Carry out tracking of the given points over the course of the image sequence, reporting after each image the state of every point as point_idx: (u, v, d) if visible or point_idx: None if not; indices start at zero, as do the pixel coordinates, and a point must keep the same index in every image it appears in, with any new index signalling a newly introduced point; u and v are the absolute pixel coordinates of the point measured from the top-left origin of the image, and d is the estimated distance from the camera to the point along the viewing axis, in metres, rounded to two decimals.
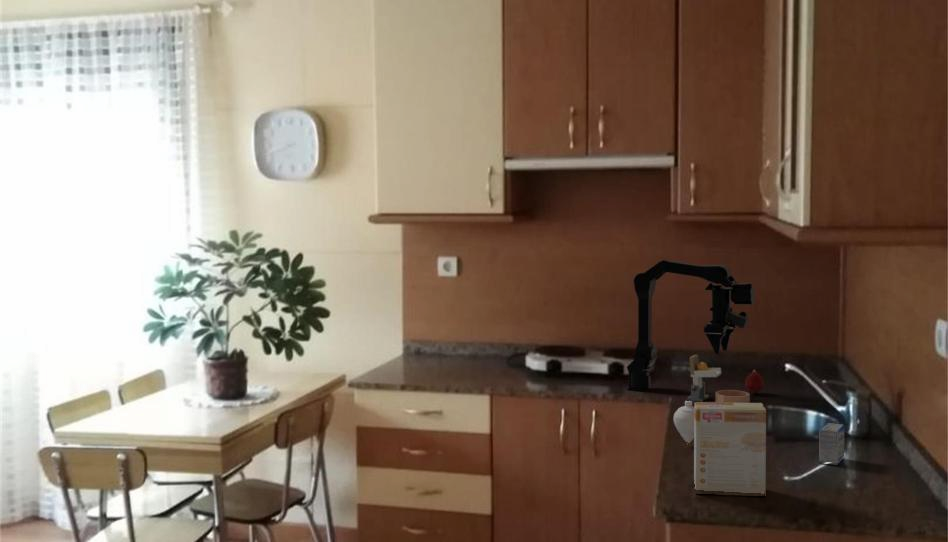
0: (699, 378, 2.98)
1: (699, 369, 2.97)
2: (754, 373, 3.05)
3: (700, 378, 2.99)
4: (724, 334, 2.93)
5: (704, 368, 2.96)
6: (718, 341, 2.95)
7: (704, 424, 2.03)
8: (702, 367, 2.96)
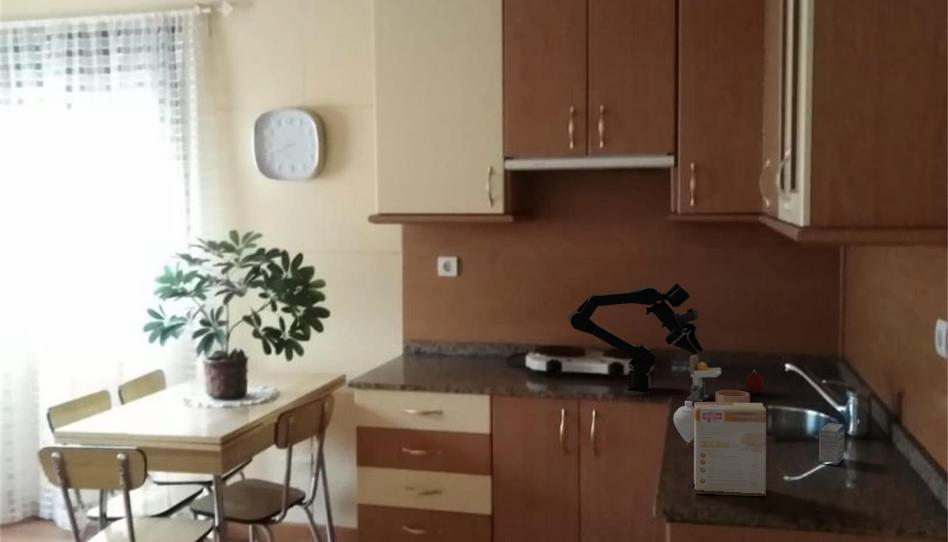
0: (699, 378, 2.98)
1: (699, 369, 2.97)
2: (754, 373, 3.05)
3: (700, 378, 2.99)
4: (686, 333, 3.05)
5: (704, 368, 2.96)
6: (688, 342, 3.05)
7: (704, 424, 2.03)
8: (702, 367, 2.96)
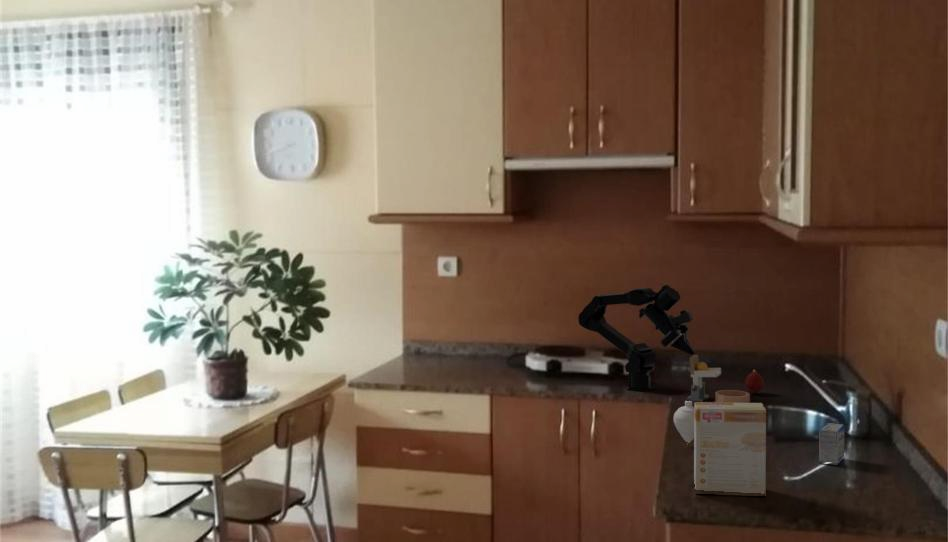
0: (699, 378, 2.98)
1: (699, 369, 2.97)
2: (754, 373, 3.05)
3: (700, 378, 2.99)
4: (684, 334, 3.03)
5: (704, 368, 2.96)
6: (685, 343, 3.04)
7: (704, 424, 2.03)
8: (702, 367, 2.96)
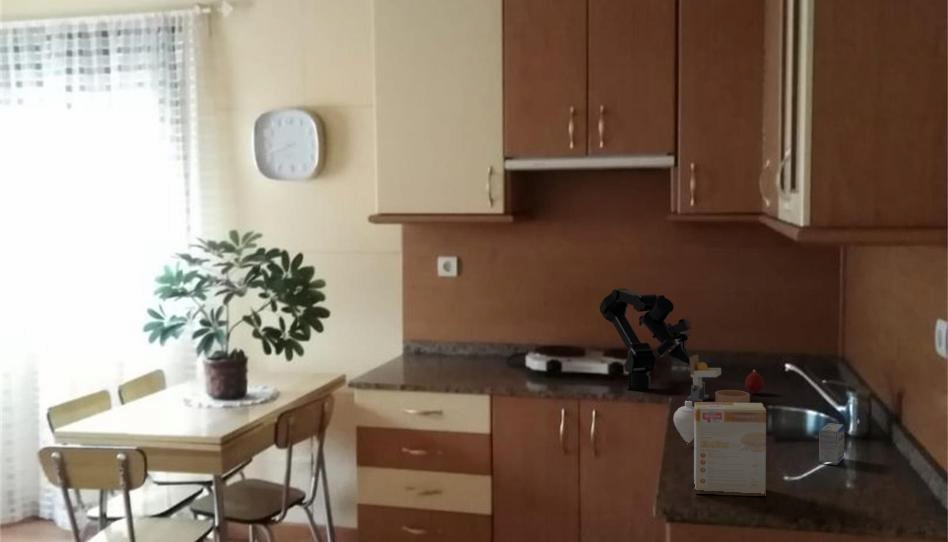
0: (699, 378, 2.98)
1: (699, 369, 2.97)
2: (754, 373, 3.05)
3: (700, 378, 2.99)
4: (681, 343, 2.98)
5: (704, 368, 2.96)
6: (682, 352, 2.99)
7: (704, 424, 2.03)
8: (702, 367, 2.96)
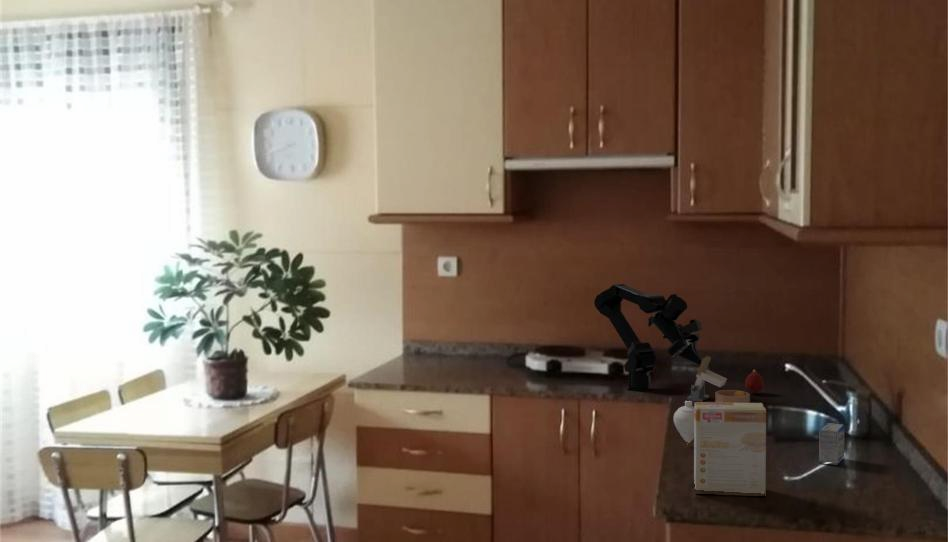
0: (703, 380, 2.98)
1: None
2: (754, 373, 3.05)
3: (703, 380, 2.98)
4: (691, 343, 2.96)
5: None
6: (693, 353, 2.97)
7: (704, 424, 2.03)
8: None
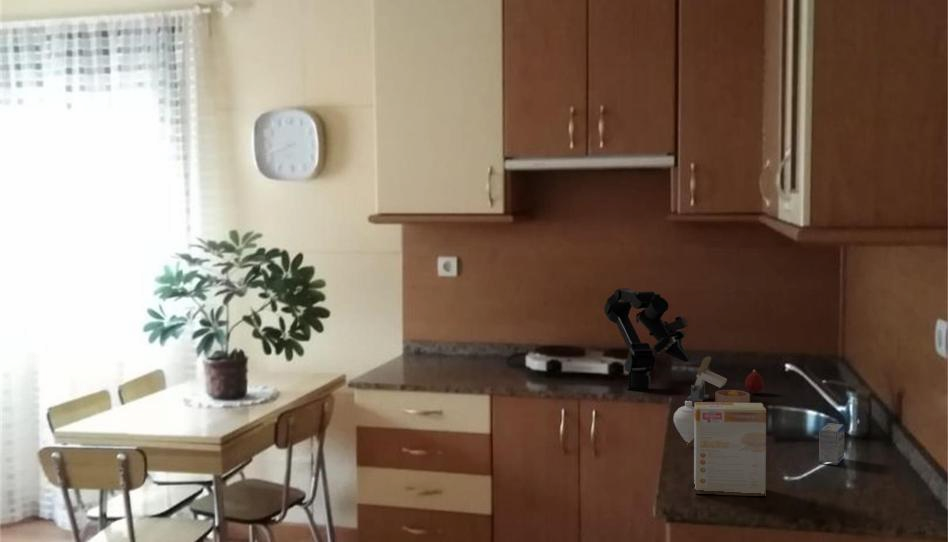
0: (703, 380, 2.98)
1: None
2: (754, 373, 3.05)
3: (703, 380, 2.98)
4: (677, 340, 2.99)
5: (734, 393, 2.92)
6: (679, 350, 3.00)
7: (704, 424, 2.03)
8: (732, 394, 2.92)
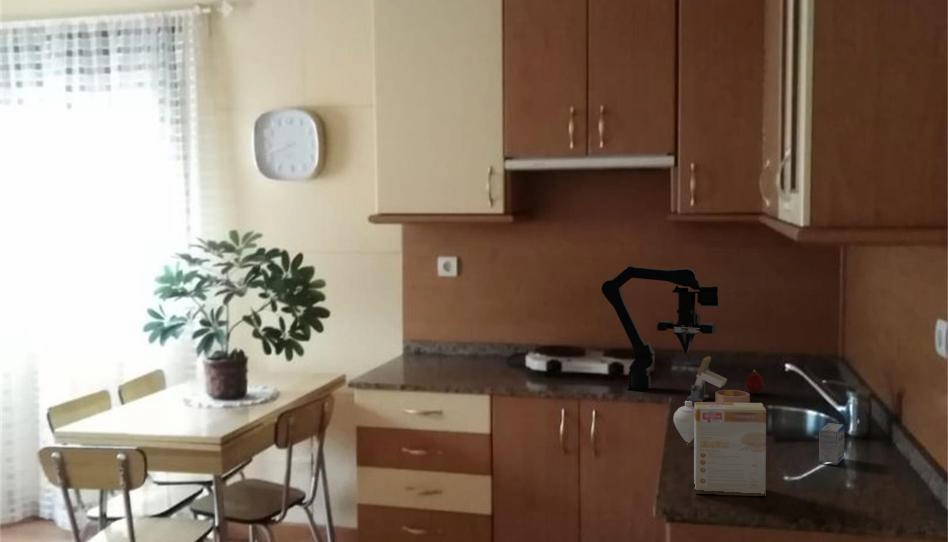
0: (703, 380, 2.98)
1: None
2: (754, 373, 3.05)
3: (703, 380, 2.98)
4: None
5: (727, 392, 2.93)
6: (691, 339, 3.10)
7: (704, 424, 2.03)
8: (726, 393, 2.93)
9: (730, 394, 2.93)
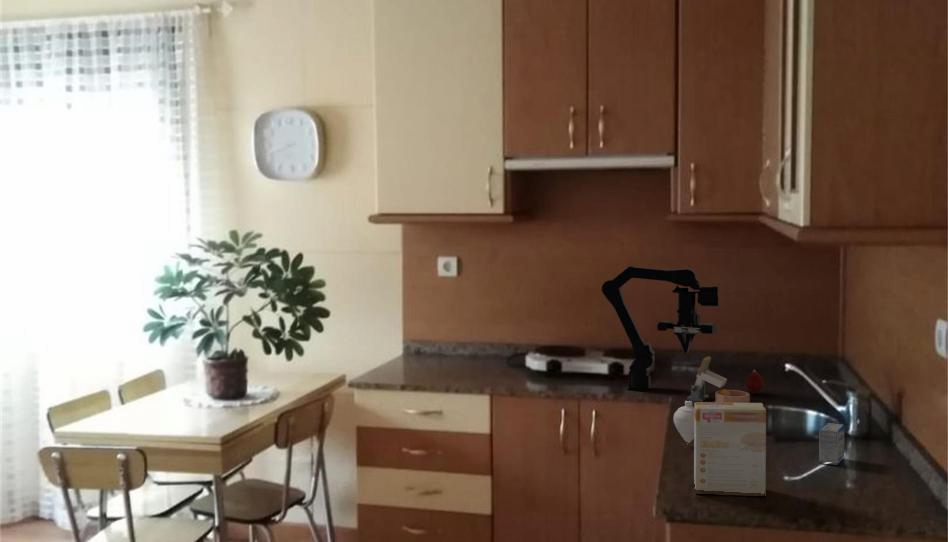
0: (703, 380, 2.98)
1: (724, 395, 2.93)
2: (754, 373, 3.05)
3: (703, 380, 2.98)
4: None
5: (720, 392, 2.94)
6: (691, 340, 3.10)
7: (704, 424, 2.03)
8: (720, 394, 2.94)
9: (724, 392, 2.94)
